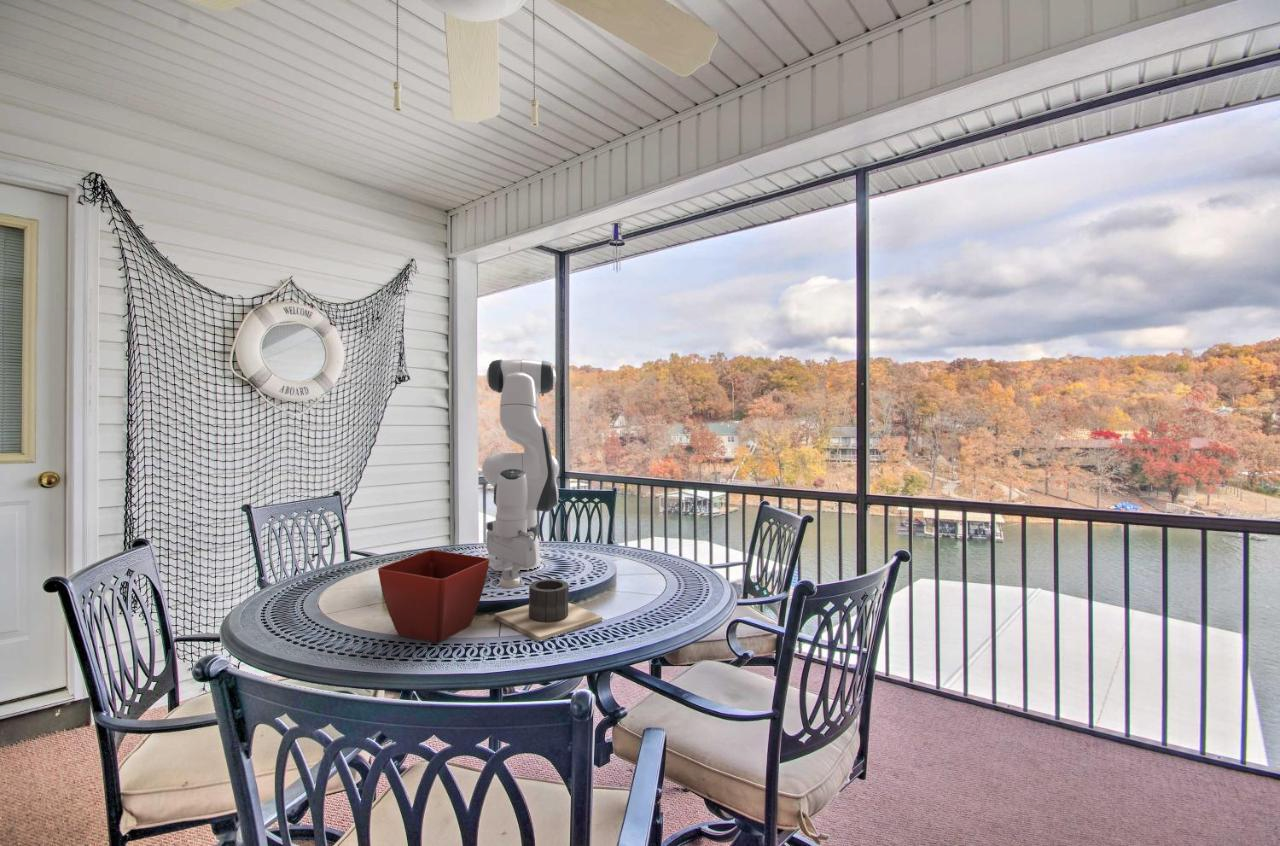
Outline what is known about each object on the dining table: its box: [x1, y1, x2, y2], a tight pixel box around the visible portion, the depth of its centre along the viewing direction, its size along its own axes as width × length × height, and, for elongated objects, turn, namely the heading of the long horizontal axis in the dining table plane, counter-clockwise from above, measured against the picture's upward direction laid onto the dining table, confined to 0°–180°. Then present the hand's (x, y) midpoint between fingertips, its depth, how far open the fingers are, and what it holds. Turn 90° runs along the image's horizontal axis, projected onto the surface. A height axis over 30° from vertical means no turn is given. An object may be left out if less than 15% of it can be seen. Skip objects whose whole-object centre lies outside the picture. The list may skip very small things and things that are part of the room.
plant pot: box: [377, 549, 489, 644], centre depth 144 cm, size 19×19×17 cm
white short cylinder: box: [499, 567, 521, 590], centre depth 166 cm, size 6×6×5 cm
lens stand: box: [493, 578, 603, 642], centre depth 153 cm, size 20×20×9 cm
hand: (510, 575), depth 166 cm, fingers closed on white short cylinder
